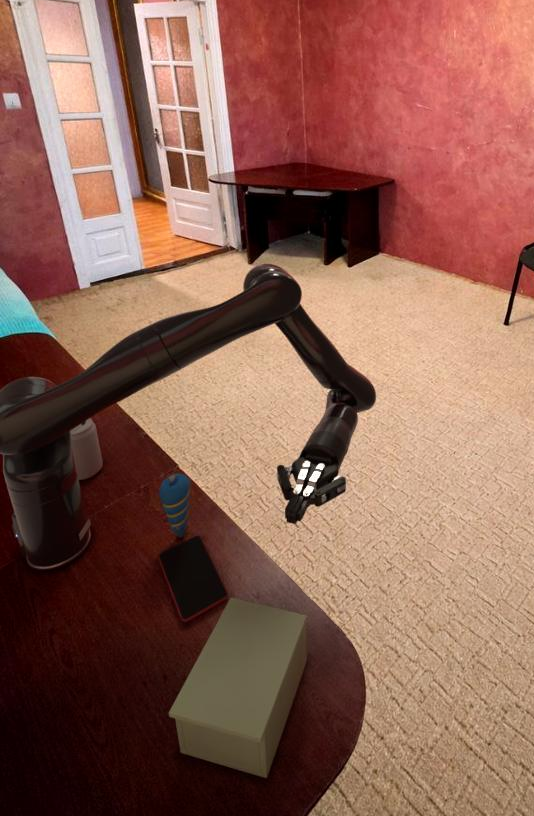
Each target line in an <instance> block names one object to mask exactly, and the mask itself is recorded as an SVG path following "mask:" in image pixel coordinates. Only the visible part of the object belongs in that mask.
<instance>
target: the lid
mask: <svg viewBox="0 0 534 816" xmlns="http://www.w3.org/2000/svg"><path fill="white" fill-rule="evenodd" d="M307 616H308V615H306V614H302V613H299V612H294V611H290V610H285V609H281V608H278V607H274V606H269V605H265V604H261V603H256V602H251V601H248V600H243V599H240V598H235V597H230V598H229V600H228V602H227V604H226V605H225V607H224V609H223V611H222V612H221V614H220V616H219V618H218V620H217V622H216V624H215V626H214V628H213V629H212V632H211V634H210V635H209V637H208V638H207V641H206V642H205V644H204V646H203V648H202V649H201V652H200V654H199V655H198V657H197V659H196V662H195V663H194V665H193V667H192V668H191V670H190V672H189V674H188V676H187V678H186V680H185V681H184V683H183V685H182V687H181V688H180V691H179V693H178V695H177V696H176V698H175V700H174V702H173V704H172V705H171V708H170V710H169V711H168V717H169V718H172V719H174V720H175V719H179V720H182V721H186V722H189V723H193V724H196V725H200V726H203V727H207V728H210V729H214V730H217V731H221V732H224V733H228V734H231V735H235V736H238V737H242V738H246V739H249V740H253V741H256V742H260V743H261V742H262V739H263V737H264V734H265V731H266V729H267V726H268V723H269V720H270V718H271V715H272V712H273V710H274V707H275V704H276V701H277V699H278V696H279V693H280V690H281V688H282V685H283V682H284V680H285V677H286V674H287V671H288V669H289V666H290V663H291V661H292V658H293V655H294V652H295V650H296V647H297V644H298V642H299V639H300V636H301V633H302V631H303V628H304V625H305V622H306V620H307V619H308V617H307ZM307 621H308V620H307Z"/></svg>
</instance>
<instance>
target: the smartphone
mask: <svg viewBox="0 0 534 816" xmlns="http://www.w3.org/2000/svg"><path fill="white" fill-rule="evenodd" d="M157 560H158V562H159V564H160V567H161V570H162V572H163V575H164V578H165V580H166V583H167V586H168V588H169V591H170V593H171V596H172V599H173V601H174V604H175V607H176V610H177V612H178V615H179V618H180V620H181V621H182V622H183V623H188V622H190V621H192V620H193V619H195V618H197V617H198V616H200V615H202V614H204V613H206V612H207V611H209V610H210V609H213V608H214V607H216V606H218V605H219V604H221V603H222V602H225V601H226V600H227V599H228V597H229V591H228V589H227V587H226V584H225V582H224V581H223V579H222V577H221V575H220V572H219V570H218V568H217V566H216V565H215V562H214V559H212V556H211V554H210V552H209V550H208V548H207V546H206V544H205V542H204V540H203V538H202V536H201V535H198V534H197V535H193V536H192V537H190V538H188V539H186V540H183V541H181V542H179V543H177V544H175V545H173V546H171V547H169V548H167V549H165V550H163V551H161V552H160V553H159V554H158V556H157Z"/></svg>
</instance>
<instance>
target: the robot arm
mask: <svg viewBox="0 0 534 816" xmlns="http://www.w3.org/2000/svg"><path fill="white" fill-rule="evenodd" d="M242 290H243V291H242V292H240V293H238V294H236V295H234V296H232V297H230V298H229V299H227V300H225V301H223V302H221V303H217V304H215V305H212V306H209V307H204V308H199V309H196V310H189V311H184V312H180V313H177V314H172V315H170V316H167V317H164V318H161V319H159V320H157V321H155V322H152V323H151V324H149V325H147V326H144V327H143V328H140V329H138V330H135V331H134V332H132V333H131V334H129V335H127V336H126V337H125V336H124V338H123V339H121V340H120V341H118V342H117V343H116V344H114V345H113V346H112V347H111V348H109V349H108V350H106V352H104V353H103V354H102V355H101V356H100V357H99V358H98V359H96V360H95V361H94V362H93V363H92V364H91V365H89V366H88V367H87V368H86V369H84V370H83V371H81V372H80V373H79V374H77V375H75V376H74V377H72V378H70V379H68V380H66V381H64V382H62V383H61V384H58V385H57V384H56V383H54V382H52V381H51V380H49V379H47V378H43V377H38V376H27V377H21V378H18V379H15V380H13V381H10V382H9V383H7V384H6V385H5V386H3V387H2V388H1V389H0V455H2V473H3V476H4V480H5V481H4V482H5V484H6V488H7V491H8V494H9V499H10V501H11V506H12V509H13V513H12V515H11V520H12V524H11V528H12V531H13V534H14V538H15V539H17V540H18V545H19V547H20V552H21V555H22V557H23V558H25V559H26V562H27V564H28V567H30V568H31V569H32V570H34V571H38V572H50V571H54V570H57V569H60V568H63V567H65V566H67V565H69V564H71V563H72V562H74V561H76V560H77V559H78V558H79V557H80V556H81V555H83V553H84V552H85V551H86V550H87V548H88V547H89V546H90V543H91V540H92V533H91V529H90V527H91V526H92V524H91V518H90V517H89V518H87V513H86V508H85V503H84V499H83V494H82V489H81V486H80V480H78V475H77V471H76V466H75V461H74V456H73V448H72V436H71V430H72V429H74V428H75V427H77V426H78V425H80V424H82V423H83V422H85V421H86V420H88V419H89V418H90V419H92V418H93V417H94V416H96V415H97V414H99V413H101V412H103V411H104V410H106V409H108V408H109V407H112V406H113V405H116V404H117V403H120V402H121V401H123V400H125V399H127V398H129V397H131V396H133V395H134V394H136V393H138V392H140V391H142V390H144V389H145V388H148V387H149V386H151V385H153V384H156V383H158V382H159V381H162V380H164V379H166V378H168V377H170V376H171V375H173V374H175V373H177V372H179V371H181V370H182V369H185V368H186V367H188V366H190V365H192V364H193V363H196V362H197V361H199V360H200V359H203V358H204V357H206V356H208V355H210V354H213V353H215V352H216V351H218V350H219V349H221V348H224V347H226V346H227V345H228V344H230V343H232V342H234V341H236V340H239V339H240V338H243V337H246V336H248V335H250V334H253V333H255V332H257V331H260V330H262V329H264V328H267V327H269V326H272V325H275V327H277V328H278V329H279V331H280V332H281V333H282V334H283V335H284V337H285V338H286V339H287V340H288V342H289V344H290V345H291V346H292V348H293V350H294V351H295V353H296V354H297V356H298V358H300V360H301V361H302V363H303V365H305V367H306V369H308V371H309V372H310V373H311V375H312V376H313V377H314V378H315V380H316V381H317V382H318V383H319V385H320V386H321V387H322V388H324V389H327V390H329V391H328V392H327V395H326V403H325V409H324V413H323V415H322V417H321V419H320V421H319V422H318V424H317V425H316V426H315V427H314V429H313V431H312V433H311V434H310V436H309V437H308V439H307V441H306V444H305V445H304V447H303V448H302V450H301V452H300V454H299V456H298V458H296V460H294V461H292V463H291V465H289V466H284V465H283V464H278V465H277V466H276V475H277V476H276V477H277V478H276V479H277V482H278V485H279V487H280V490H281V493H282V496H283V498H284V500H285V501H287V504H286V506H285V508H284V519H286V523H287V524H292V525H297V524H298V522H301V521H302V520H303V519H304V517H305V514H306V512H307V510H308V508H310V506H313V505H314V506H315V507H317V508H320V507H321V506H323V505H325V504H327V503H328V502H330V501H332V500H334V499H336V498H338V497H339V496H341V495H342V494H344V493H346V490H347V478H346V476H340V475H339V473H340V469H341V467H342V464H343V462H344V459H345V458H346V455H348V451H349V448H350V445H351V441H352V437H353V435H354V434H355V432H356V431H355V430H356V428H357V425H358V422H359V416H358V414H359V413H362V412H366V411H369V410H371V409H372V408H373V407H374V406H375V404H376V401H377V391H376V389H375V386H374V385H373V383H372V382H371V381H370V380H369V378H368V377H366V375H364V374H363V373H361V372H360V371H358V370H357V369H356V368H355V367H353V366H352V365H350V364H349V363H347V361H346V360H345V359H344V357H343V356H342V354H341V353H340V352H339V350H338V348H337V347H336V346H335V345H334V343H333V342H332V340H330V339H329V338H328V336H327V335H326V334H325V332H323V331H322V329H321V328H320V327H319V326H318V325H317V324H316V323H315V322H314V320H313V319H312V318H311V317H310V316H309V314H308V312H307V311H306V310H305V308H304V307H303V305H302V304H301V303H302V300H303V299H302V298H303V292H302V288H301V285H300V284H299V282H298V281H297V280H296V279H295V278H294V277H293V276H292V275H291V274H290V273H289V272H288V271H287V270H286V269H284V268H283V267H280V266H279V265H277V264H272V263H261V264H259V265H255V266H254V267H252V268H251V269H250V270H249V271H248V272H247V273H246V275H245V277H244V279H243V284H242ZM291 475H292V476H293V479H294V483H295V485H294V487H293V486H292V483H291V480H290V479H291Z"/></svg>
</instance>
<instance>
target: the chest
mask: <svg viewBox="0 0 534 816" xmlns="http://www.w3.org/2000/svg"><path fill="white" fill-rule="evenodd" d="M307 621H308V620H306V622H305V625H304V628H303V631H302V633H301V636H300V639H299V642H298V644H297V647H296V650H295V652H294V655H293V658H292V661H291V663H290V666H289V669H288V671H287V674H286V677H285V680H284V682H283V685H282V688H281V690H280V693H279V696H278V699H277V701H276V704H275V707H274V710H273V712H272V715H271V718H270V720H269V723H268V726H267V729H266V731H265V734H264V737H263V739H262V742H261V743H260V742H256V741H253V740H249V739H246V738H242V737H238V736H235V735H231V734H228V733H224V732H221V731H217V730H214V729H210V728H207V727H203V726H200V725H196V724H193V723H189V722H186V721H182V720H179V719H175V718H174V720H175V727H176V732H177V733H176V734H177V738H178V745H179V752H180V753H181V754H183V755H187V756H190V757H194V758H196V759H200V760H203V761H207V762H211V763H214V764H217V765H220V766H224V767H228V768H231V769H233V770H237V771H241V772H244V773H248V774H251V775H254V776H258V777H261V778H264V779H267V778H268V776H269V773H270V771H271V767H272V764H273V761H274V758H275V755H276V753H277V750H278V747H279V744H280V741H281V738H282V735H283V732H284V729H285V726H286V723H287V720H288V717H289V715H290V711H291V708H292V706H293V703H294V701H295V696H296V694H297V691H298V688H299V685H300V683H301V679H302V676H303V673H304V670H305V668H306V665H307V661H308V638H307V637H308V631H307V629H308V626H307V623H308V622H307Z"/></svg>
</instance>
